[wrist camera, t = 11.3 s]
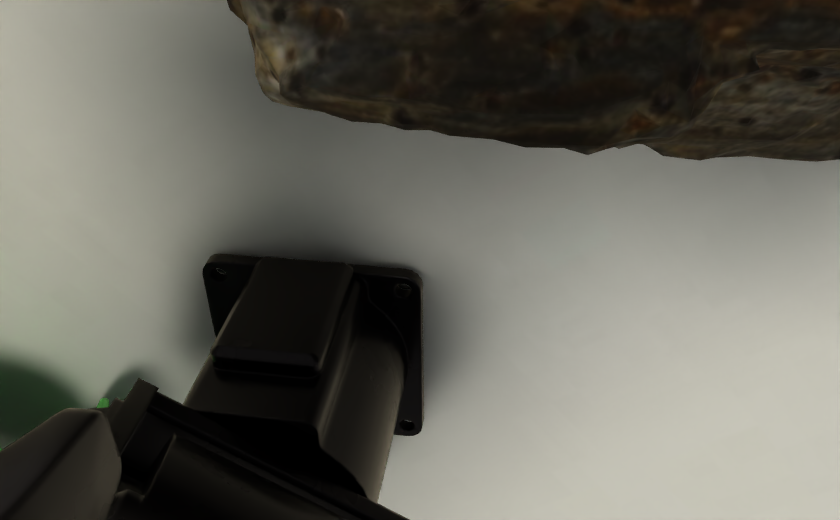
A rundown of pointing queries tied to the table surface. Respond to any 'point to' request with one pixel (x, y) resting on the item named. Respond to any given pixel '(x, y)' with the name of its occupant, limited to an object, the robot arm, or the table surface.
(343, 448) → the robot arm
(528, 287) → the table surface
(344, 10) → the stone
